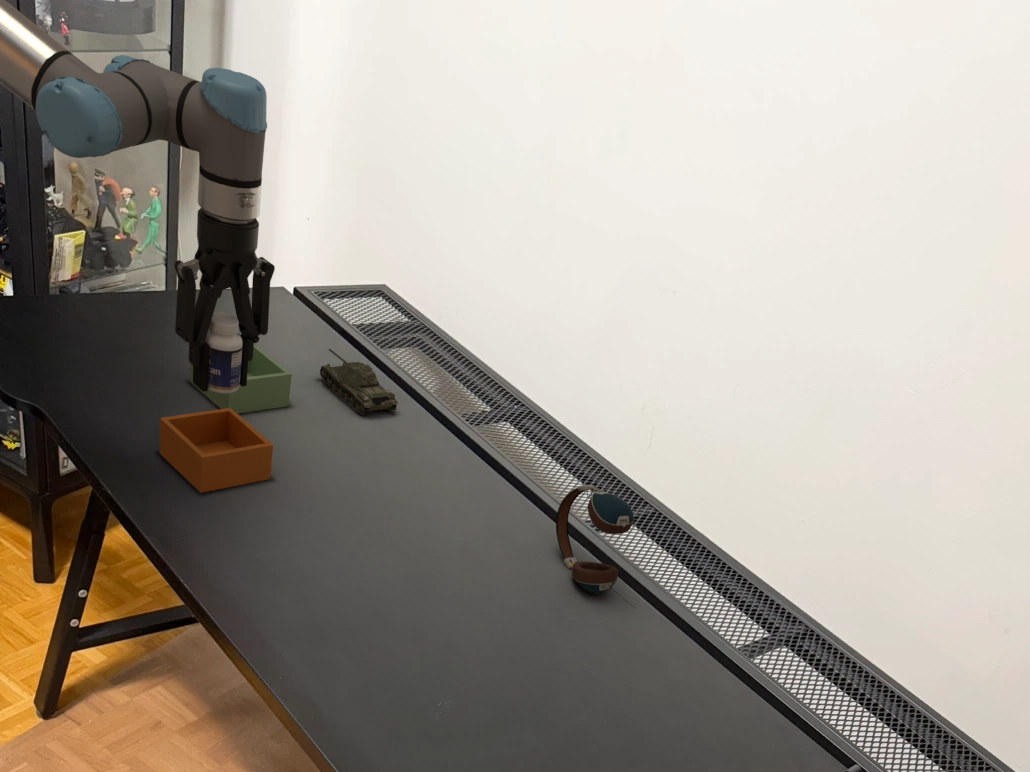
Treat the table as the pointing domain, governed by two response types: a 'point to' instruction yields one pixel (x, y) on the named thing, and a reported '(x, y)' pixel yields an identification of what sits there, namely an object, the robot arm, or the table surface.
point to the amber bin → (215, 449)
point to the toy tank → (357, 386)
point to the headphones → (608, 518)
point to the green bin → (256, 386)
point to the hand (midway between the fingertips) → (219, 383)
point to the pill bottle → (224, 353)
